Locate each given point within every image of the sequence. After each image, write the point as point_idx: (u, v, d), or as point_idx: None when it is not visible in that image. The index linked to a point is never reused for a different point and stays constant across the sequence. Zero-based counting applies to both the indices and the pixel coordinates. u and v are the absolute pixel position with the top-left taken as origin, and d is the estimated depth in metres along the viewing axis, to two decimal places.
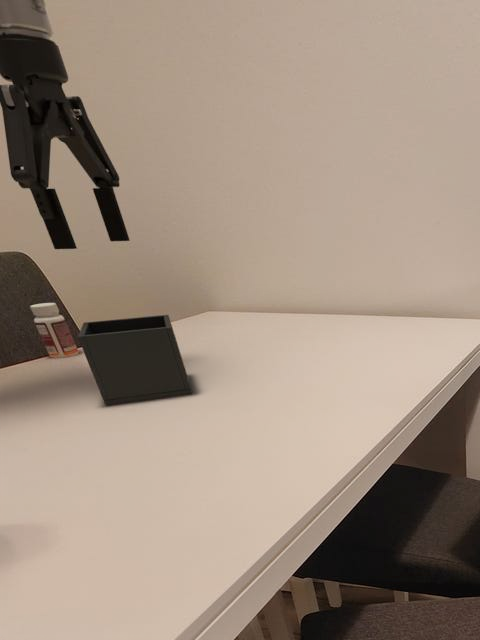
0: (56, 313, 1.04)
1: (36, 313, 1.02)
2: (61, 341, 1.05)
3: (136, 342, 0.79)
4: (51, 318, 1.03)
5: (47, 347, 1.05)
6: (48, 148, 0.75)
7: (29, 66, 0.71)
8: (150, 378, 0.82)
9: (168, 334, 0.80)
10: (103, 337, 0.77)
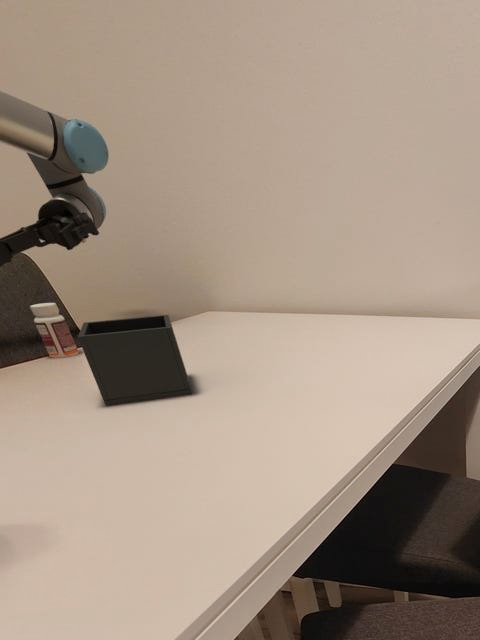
0: (56, 313, 1.04)
1: (36, 313, 1.02)
2: (61, 341, 1.05)
3: (136, 342, 0.79)
4: (51, 318, 1.03)
5: (47, 347, 1.05)
6: None
7: None
8: (150, 378, 0.82)
9: (168, 334, 0.80)
10: (103, 337, 0.77)
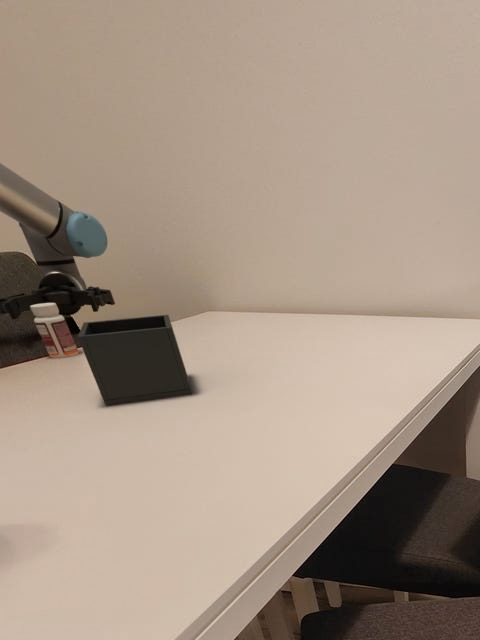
0: (56, 313, 1.04)
1: (36, 313, 1.02)
2: (61, 341, 1.05)
3: (136, 342, 0.79)
4: (51, 318, 1.03)
5: (47, 347, 1.05)
6: None
7: None
8: (150, 378, 0.82)
9: (168, 334, 0.80)
10: (103, 337, 0.77)
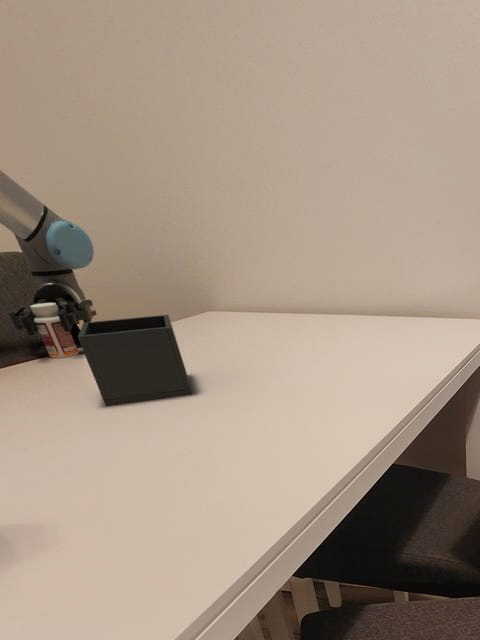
0: (56, 313, 1.04)
1: (36, 313, 1.02)
2: (61, 341, 1.05)
3: (136, 342, 0.79)
4: (51, 318, 1.03)
5: (47, 347, 1.05)
6: None
7: None
8: (150, 378, 0.82)
9: (168, 334, 0.80)
10: (103, 337, 0.77)
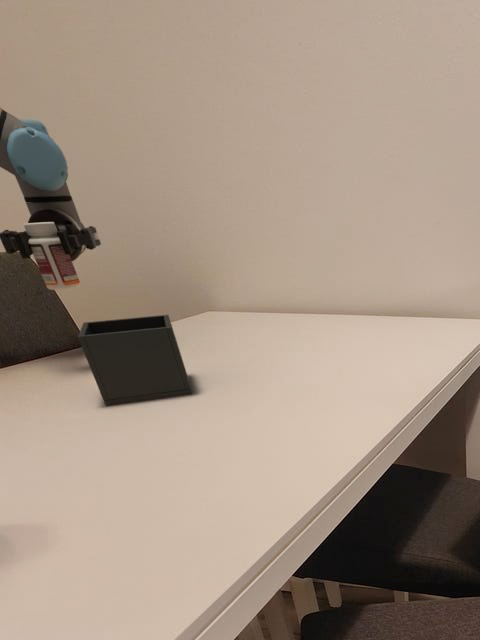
0: (54, 234, 0.88)
1: (31, 232, 0.86)
2: (61, 268, 0.89)
3: (136, 342, 0.79)
4: (48, 239, 0.87)
5: (44, 275, 0.89)
6: None
7: None
8: (150, 378, 0.82)
9: (168, 334, 0.80)
10: (103, 337, 0.77)
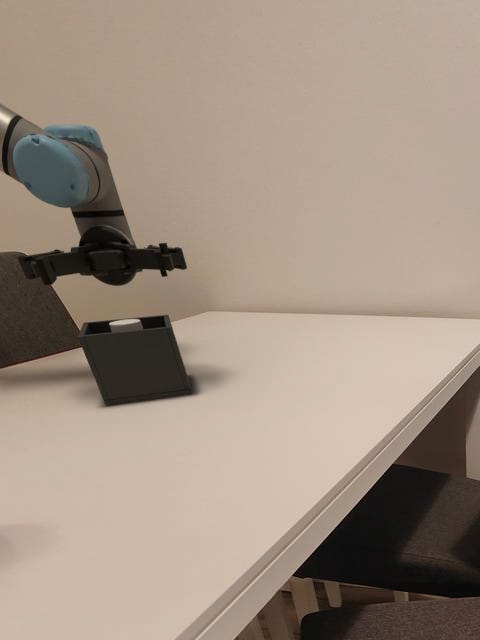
0: None
1: None
2: None
3: (136, 342, 0.79)
4: None
5: None
6: (144, 268, 0.85)
7: None
8: (150, 378, 0.82)
9: (168, 334, 0.80)
10: (103, 337, 0.77)
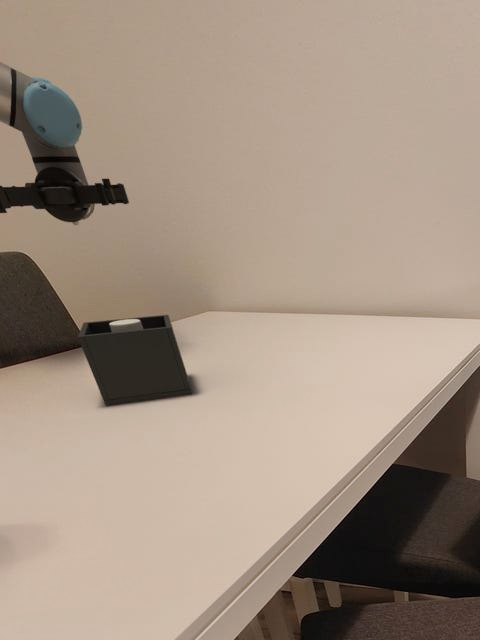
0: None
1: None
2: None
3: (136, 342, 0.79)
4: None
5: None
6: (91, 203, 0.96)
7: (88, 207, 1.02)
8: (150, 378, 0.82)
9: (168, 334, 0.80)
10: (103, 337, 0.77)
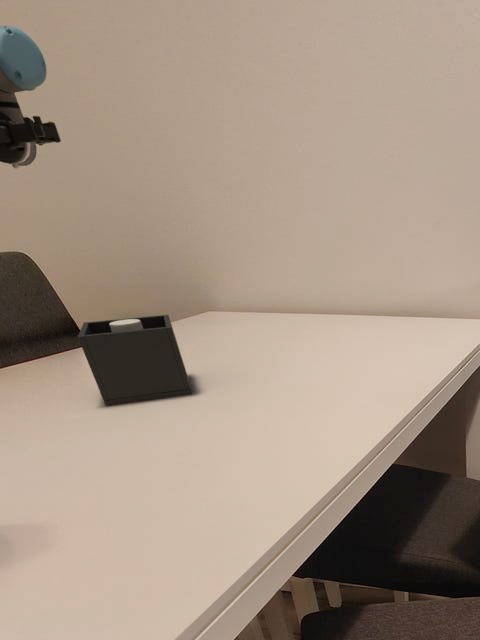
0: None
1: None
2: None
3: (136, 342, 0.79)
4: None
5: None
6: (25, 142, 1.01)
7: (25, 149, 1.07)
8: (150, 378, 0.82)
9: (168, 334, 0.80)
10: (103, 337, 0.77)
